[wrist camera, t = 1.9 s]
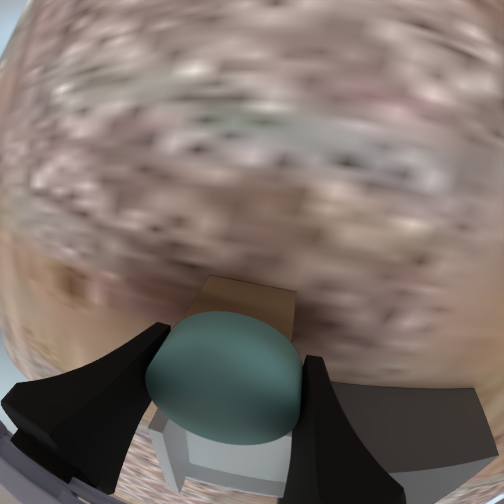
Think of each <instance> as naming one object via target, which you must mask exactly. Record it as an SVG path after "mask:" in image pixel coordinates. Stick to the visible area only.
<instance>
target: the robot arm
mask: <svg viewBox="0 0 504 504" xmlns="http://www.w3.org/2000/svg"><path fill="white" fill-rule="evenodd" d="M170 332H171V327H170V325H167V324H163V323H159V322H157V323H155V324H154V325H152V326H151V327H149V328H148V329H146V330H145V331H143V332H142V333H140V334H139V335H137V336H136V337H135V338H133V339H132V340H130V341H128V342H127V343H125V344H124V345H122V346H121V347H119V348H118V349H116V350H114V351H112V352H111V353H109V354H107V355H105V356H104V357H102V358H100V359H98V360H96V361H94V362H92V363H90V364H87V365H85V366H83V367H80V368H78V369H75V370H72V371H69V372H66V373H64V374H60V375H57V376H53V377H49V378H45V379H40V380H35V381H28V382H20V383H16V384H15V385H14V387H13V388H12V389H11V390H10V391H9V392H8V393H7V394H6V396H5V397H4V398H3V399H2V400H1V406H2V408H3V409H4V411H5V413H6V414H7V415H8V417H9V418H10V419H11V421H12V422H13V423H14V424H15V426H16V427H17V428H18V430H17V431H16V433H15V434H14V435H13V434H12V433H11V432H10V431H8V430H7V428H6V427H5V425H4V424H3V423H2V422H1V420H0V485H1V486H2V487H3V488H4V489H5V490H6V491H7V492H8V493H10V494H11V495H12V496H13V497H14V498H15V499H16V500H17V501H18V502H19V503H21V504H85V503H84V502H82V501H80V500H79V499H78V497H80V498H82V499H84V500H86V501H87V502H89V503H91V504H126V503H124V502H121V501H119V500H117V499H115V498H113V497H111V496H109V495H110V494H113V493H114V492H115V488H116V485H117V481H118V478H119V475H120V471H121V468H122V465H123V462H124V460H125V457H126V454H127V451H128V449H129V446H130V444H131V441H132V438H133V436H134V434H135V431H136V429H137V427H138V424H139V422H140V420H141V418H142V417H143V415H144V413H145V411H146V410H147V408H148V406H149V405H150V403H151V401H152V399H151V397H150V395H149V393H148V391H147V388H146V383H145V375H146V371H147V368H148V366H149V365H150V363H151V362H152V360H153V358H154V357H155V355H156V354H157V352H158V351H159V349H160V347H161V346H162V344H163V343H164V341H165V340H166V338H167V336H168V335H169V333H170ZM77 496H78V497H77ZM282 504H407V501H406V495H405V491H404V487H402V486H401V485H400V484H399V483H398V482H397V481H396V480H395V479H394V478H392V477H391V476H390V475H389V474H388V473H387V472H386V471H385V470H384V469H383V467H382V466H381V465H380V464H379V463H378V462H377V461H376V459H375V458H374V457H373V456H372V454H371V453H370V452H369V451H368V449H367V448H366V447H365V446H364V444H363V443H362V441H361V440H360V438H359V437H358V435H357V434H356V432H355V431H354V429H353V427H352V426H351V424H350V422H349V420H348V418H347V417H346V415H345V413H344V411H343V409H342V407H341V405H340V402H339V400H338V398H337V396H336V393H335V391H334V389H333V386H332V384H331V381H330V378H329V376H328V373H327V370H326V367H325V364H324V360H323V358H322V357H319V356H312V355H307V356H306V359H305V362H304V365H303V379H302V392H301V405H300V416H299V419H298V422H297V424H296V426H295V427H294V428H293V429H292V439H291V456H290V464H289V469H288V475H287V480H286V485H285V490H284V495H283V500H282Z"/></svg>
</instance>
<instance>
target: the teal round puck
mask: <svg viewBox="0 0 504 504" xmlns="http://www.w3.org/2000/svg"><path fill="white" fill-rule="evenodd" d="M302 379H303V366H302V361H301V358H300V356H299V354H298V352H297V350H296V349H295V347H294V346H293V345H292V343H291V342H290V341H289V340H288V339H287V338H286V337H285V336H284V335H283V334H281V333H280V332H279V331H278V330H276V329H274V328H273V327H271V326H270V325H268V324H266V323H264V322H262V321H260V320H257V319H255V318H252V317H249V316H246V315H242V314H238V313H232V312H222V311H212V312H203V313H198V314H195V315H192V316H189V317H187V318H185V319H183V320H182V321H180V322H179V323H178V324H176V325H175V327H174V328H173V329H172V330H171V332H170V333H169V335H168V336H167V338H166V340H165V341H164V343H163V344H162V346H161V347H160V349H159V351H158V352H157V354H156V355H155V357H154V358H153V360H152V362H151V363H150V365H149V366H148V368H147V371H146V375H145V383H146V388H147V391H148V393H149V395H150V397H151V399H152V401H153V402H154V404H155V405H156V406H157V407H158V409H159V410H160V411H161V412H162V413H163V414H164V415H165V416H167V417H168V418H169V419H170V420H171V421H173V422H174V423H176V424H177V425H179V426H180V427H182V428H183V429H185V430H187V431H189V432H191V433H193V434H195V435H198V436H200V437H203V438H206V439H208V440H212V441H215V442H220V443H225V444H231V445H259V444H264V443H269V442H272V441H275V440H277V439H280V438H282V437H283V436H285V435H287V434H288V433H289V432H291V430H292V429H293V428H294V427H295V426H296V424H297V422H298V419H299V416H300V405H301V392H302Z"/></svg>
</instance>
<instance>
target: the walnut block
mask: <svg viewBox="0 0 504 504" xmlns="http://www.w3.org/2000/svg"><path fill="white" fill-rule="evenodd" d="M295 302H296V292H295V291H289V290H284V289H278V288H273V287H268V286H262V285H257V284H252V283H247V282H241V281H236V280H231V279H226V278H221V277H216V276H211V275H210V277H209V278H208V280H207V281H206V283H205V284H204V286H203V287H202V289H201V291H200V292H199V294H198V295H197V297H196V298H195V300H194V302H193V303H192V305H191V306H190V308H189V310H188V311H187V313H186V314H185V316H184V317H183V319H185V318H187V317H189V316H192V315H195V314H198V313H203V312H212V311H222V312H232V313H238V314H242V315H246V316H249V317H252V318H255V319H257V320H260V321H262V322H264V323H266V324H268V325H270V326H271V327H273V328H274V329H276V330H278V331H279V332H280V333H281V334H283V335H284V336H285V337H286V338H287V339H288V340H289V341H290V342H292V333H293V323H294V313H295Z"/></svg>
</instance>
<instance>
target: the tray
mask: <svg viewBox="0 0 504 504" xmlns="http://www.w3.org/2000/svg"><path fill="white" fill-rule="evenodd" d="M148 431H149V434H150V437H151V440H152V443H153V446H154V449H155V452H156V455H157V458H158V461H159V464H160V466H161V469H162V472H163V474H164V477H165V480H166V482H167V485H168V487H169V490H170V491H171V492H174V493H177V494H180V491H181V489H182V486H183V483H184V481H185V478H187V479H190V480H194V481H197V482H201V483H205V484H208V485H212V486H216V487H221V488H225V489H230V490H234V491H239V492H245V493H250V494H256V495H262V496H269V497H276V498H283V495H284V490H285V485H286V480H287V475H288V469H289V464H290V456H291V439H292V430H291V432H289V433H288V434H287V435H285V436H283V437H282V438H280V439H277V440H275V441H272V442H269V443H264V444H259V445H231V444H225V443H220V442H215V441H212V440H208V439H206V438H203V437H200V436H198V435H195V434H193V433H191V432H189V431H187V430H185V429H183V428H182V427H180V426H179V425H177V424H176V423H174V422H173V421H171V420H170V419H169V418H168V417H167V416H165V415H164V414H163V413H162V412H161V411H160V410H159V409H157V411H156V413H155V415H154V417H153V419H152V421H151V423H150V425H149V427H148Z"/></svg>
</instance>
